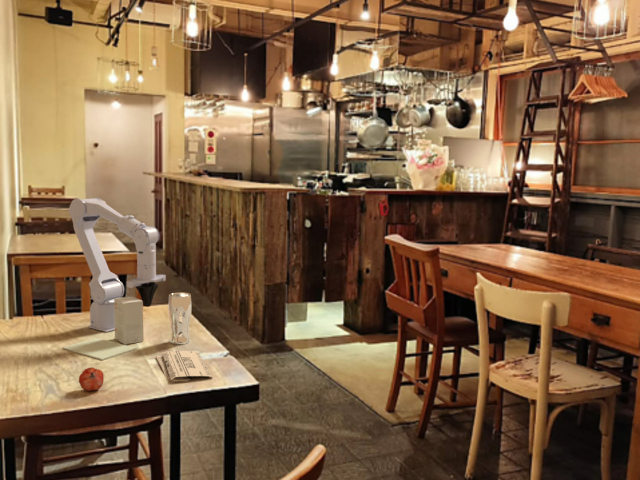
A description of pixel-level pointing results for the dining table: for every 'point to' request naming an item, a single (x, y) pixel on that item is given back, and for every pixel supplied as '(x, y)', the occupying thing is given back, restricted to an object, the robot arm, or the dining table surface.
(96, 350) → the mat
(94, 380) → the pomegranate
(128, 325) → the small box
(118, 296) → the robot arm
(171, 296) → the beer glass
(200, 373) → the newspaper
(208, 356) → the dining table surface
